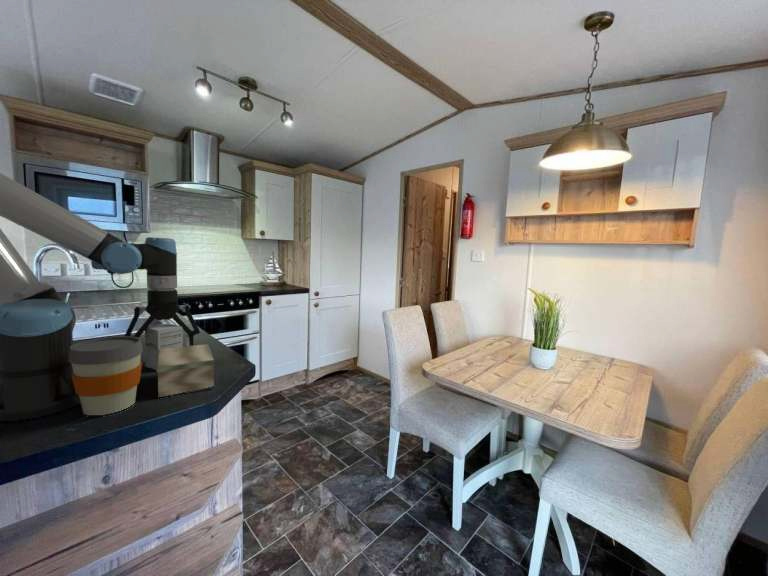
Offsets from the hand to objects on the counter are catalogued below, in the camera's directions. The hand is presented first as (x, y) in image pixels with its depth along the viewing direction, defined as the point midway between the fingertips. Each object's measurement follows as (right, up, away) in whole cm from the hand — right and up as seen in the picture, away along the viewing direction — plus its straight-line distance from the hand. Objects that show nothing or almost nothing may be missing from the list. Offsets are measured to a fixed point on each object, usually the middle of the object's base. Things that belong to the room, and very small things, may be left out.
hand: (164, 358), depth 99 cm
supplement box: (0, -2, 0) cm, 3 cm away
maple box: (+13, -4, -11) cm, 18 cm away
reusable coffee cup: (+5, -5, -26) cm, 27 cm away
